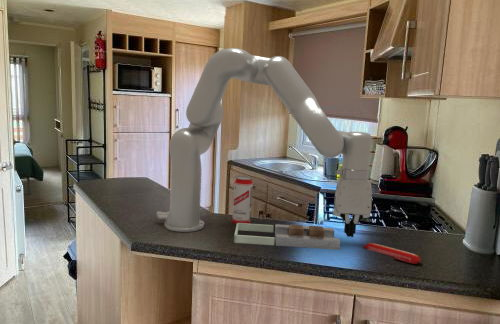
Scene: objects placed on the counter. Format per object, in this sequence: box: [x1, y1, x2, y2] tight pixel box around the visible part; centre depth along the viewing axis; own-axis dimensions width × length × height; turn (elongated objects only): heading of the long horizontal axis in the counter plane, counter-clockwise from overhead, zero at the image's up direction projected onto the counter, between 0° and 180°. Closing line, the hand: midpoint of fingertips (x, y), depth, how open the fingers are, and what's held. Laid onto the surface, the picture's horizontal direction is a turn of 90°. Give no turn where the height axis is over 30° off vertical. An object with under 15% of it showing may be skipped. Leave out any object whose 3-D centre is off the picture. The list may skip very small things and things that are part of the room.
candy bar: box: [363, 242, 423, 265], centre depth 111 cm, size 16×4×3 cm, turn 53°
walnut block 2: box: [308, 225, 324, 237], centre depth 117 cm, size 4×4×4 cm
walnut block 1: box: [288, 223, 304, 236], centre depth 117 cm, size 4×4×4 cm
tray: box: [233, 223, 276, 246], centre depth 118 cm, size 12×12×3 cm
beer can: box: [231, 175, 254, 225], centre depth 131 cm, size 6×6×16 cm
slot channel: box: [274, 223, 341, 251], centre depth 118 cm, size 18×12×4 cm, turn 88°
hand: (349, 235), depth 117 cm, fingers closed
